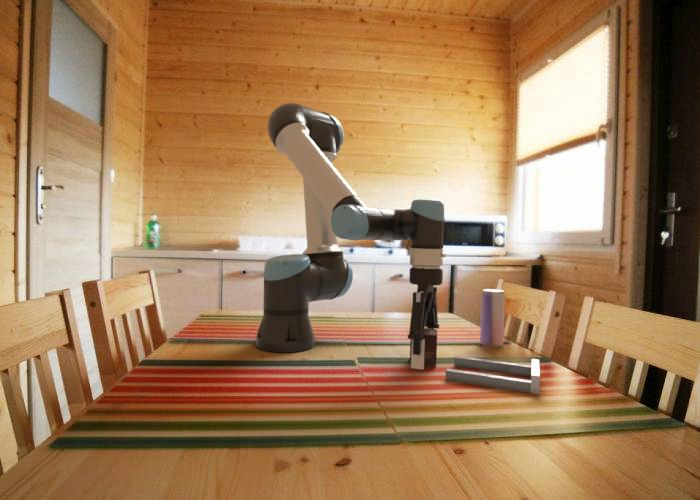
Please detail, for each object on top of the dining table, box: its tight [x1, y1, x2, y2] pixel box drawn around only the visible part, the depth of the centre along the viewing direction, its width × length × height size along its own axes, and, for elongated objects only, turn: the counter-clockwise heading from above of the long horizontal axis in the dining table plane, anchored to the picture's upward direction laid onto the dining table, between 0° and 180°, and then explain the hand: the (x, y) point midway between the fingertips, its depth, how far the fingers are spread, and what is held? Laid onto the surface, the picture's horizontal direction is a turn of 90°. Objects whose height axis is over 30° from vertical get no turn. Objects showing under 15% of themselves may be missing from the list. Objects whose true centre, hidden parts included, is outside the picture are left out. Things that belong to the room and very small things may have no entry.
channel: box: [445, 355, 541, 395], centre depth 88 cm, size 18×12×4 cm
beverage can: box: [479, 288, 506, 348], centre depth 116 cm, size 6×6×15 cm
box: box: [409, 328, 438, 368], centre depth 98 cm, size 6×6×7 cm
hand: (423, 361), depth 98 cm, fingers open, 11 cm apart
